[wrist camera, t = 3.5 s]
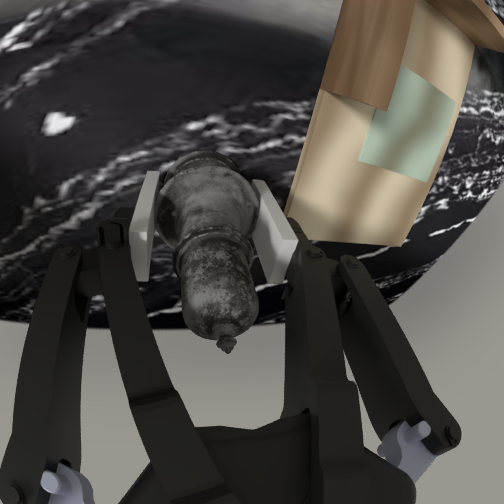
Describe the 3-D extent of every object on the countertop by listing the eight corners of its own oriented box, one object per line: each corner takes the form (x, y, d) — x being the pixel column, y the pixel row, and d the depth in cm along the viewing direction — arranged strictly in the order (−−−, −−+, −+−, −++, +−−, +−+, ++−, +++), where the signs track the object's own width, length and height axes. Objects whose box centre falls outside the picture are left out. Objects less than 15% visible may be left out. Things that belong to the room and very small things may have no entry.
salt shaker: (264, 190, 19) (340, 338, 10) (200, 240, 20) (221, 398, 11) (208, 127, 15) (244, 251, 6) (140, 188, 17) (102, 355, 7)
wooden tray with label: (277, 231, 21) (301, 282, 17) (355, -50, 8) (406, -68, 3) (396, 241, 25) (427, 279, 21) (470, 34, 11) (517, 46, 7)
